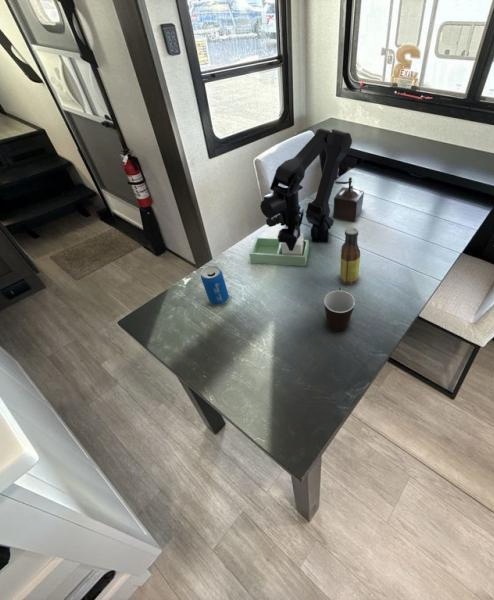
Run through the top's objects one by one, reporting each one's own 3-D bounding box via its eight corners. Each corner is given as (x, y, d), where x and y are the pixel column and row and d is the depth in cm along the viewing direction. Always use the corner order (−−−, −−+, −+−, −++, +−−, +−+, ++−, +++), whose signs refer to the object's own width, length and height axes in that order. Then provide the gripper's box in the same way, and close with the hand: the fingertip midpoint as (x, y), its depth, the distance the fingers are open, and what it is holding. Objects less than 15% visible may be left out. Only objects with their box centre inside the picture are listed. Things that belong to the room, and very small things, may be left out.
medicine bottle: (303, 248, 120) (302, 221, 111) (301, 260, 115) (300, 233, 106) (285, 247, 120) (282, 220, 111) (282, 259, 116) (279, 233, 107)
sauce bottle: (360, 276, 109) (366, 227, 95) (354, 287, 105) (360, 238, 91) (342, 271, 111) (346, 223, 97) (336, 282, 107) (339, 233, 93)
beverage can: (212, 309, 100) (202, 281, 92) (207, 296, 104) (197, 269, 96) (231, 302, 102) (224, 274, 94) (225, 290, 106) (217, 262, 98)
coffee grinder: (363, 209, 140) (367, 169, 127) (355, 222, 133) (359, 181, 120) (330, 203, 145) (332, 164, 132) (321, 215, 138) (322, 175, 125)
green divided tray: (257, 245, 123) (256, 236, 120) (308, 248, 121) (308, 239, 118) (251, 262, 116) (249, 253, 113) (305, 266, 114) (305, 257, 111)
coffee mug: (343, 339, 90) (346, 317, 83) (318, 327, 94) (318, 305, 87) (360, 313, 97) (364, 290, 90) (336, 303, 100) (337, 280, 93)
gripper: (271, 190, 110) (276, 228, 122) (259, 219, 97) (265, 258, 109) (303, 192, 109) (304, 230, 120) (295, 221, 96) (297, 260, 108)
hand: (292, 244), depth 114 cm, fingers closed on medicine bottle, 7 cm apart
